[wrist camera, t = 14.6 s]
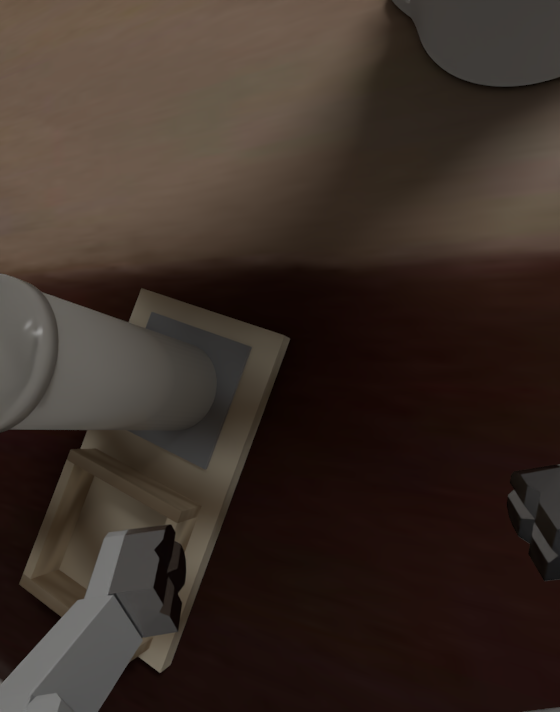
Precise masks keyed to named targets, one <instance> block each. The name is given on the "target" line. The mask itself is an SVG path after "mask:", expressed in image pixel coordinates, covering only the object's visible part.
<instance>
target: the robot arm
mask: <svg viewBox="0 0 560 712" xmlns="http://www.w3.org/2000/svg"><path fill="white" fill-rule="evenodd" d="M392 1H393V2H394V4H395V5H396V6H397V7H398V8H399V9H401V10H402V11H403V12H404V13H405V14H407V15H408V16H409V17H411V18H412V20H413V22H414V24H415V26H416V28H417V31H418V34H419V37H420V40H421V43H422V45H423V47H424V49H425V50H426V52H427V53H428V55H429V56H430V57H431V58H432V60H433V61H434V62H435V63H436V64H438V65H439V66H440V67H441V68H442V69H444V70H445V71H447V72H448V73H450V74H452V75H454V76H456V77H458V78H460V79H463V80H466V81H469V82H472V83H476V84H481V85H487V86H500V87H508V86H523V85H530V84H535V83H540V82H544V81H548V80H551V79H555V78H558V77H560V0H392ZM510 484H511V485H512V487H513V488H514V490H513V491H512V492H511V493H510V494H509V495H508V500H507V508H508V513H509V518H510V520H511V523H512V525H513V527H514V529H515V531H516V533H517V535H518V536H519V537H520V538H522V539H523V540H525V541H527V542H528V543H530V548H529V553H528V554H529V556H530V557H531V559H532V561H533V563H534V564H535V566H536V568H537V569H538V571H539V573H540V575H541V576H542V578H543V580H544V581H548V580H557V579H560V464H559V465H550V466H544V467H538V468H532V469H526V470H519V471H514V472H513V474H512V475H511V479H510ZM175 535H176V532H175V530H174V528H173V527H172V525H171V524H169V525H161V526H153V527H145V528H136V529H129V530H122V531H114V532H108V534H107V535H106V537H105V538H104V539H103V542H102V546H101V549H100V552H99V555H98V558H97V561H96V564H95V567H94V570H93V573H92V576H91V579H90V582H89V585H88V588H87V591H86V594H85V597H84V599H80V600H77V601H76V602H75V603H74V605H73V606H72V607H71V608H70V609H69V610H68V611H67V612H66V613H65V614H64V616H63V617H62V618H61V619H60V620H59V621H58V622H57V623H56V624H55V625H54V627H53V628H52V629H51V630H50V631H49V632H48V633H47V634H46V635H45V636H44V638H43V639H42V640H41V641H40V642H39V643H38V644H37V645H36V646H35V648H34V649H33V650H32V651H31V652H30V653H29V654H28V655H27V656H26V657H25V659H24V660H23V661H22V662H21V663H20V664H19V665H18V666H17V667H16V668H15V670H14V671H13V672H12V673H11V674H10V675H9V676H8V677H7V678H6V679H5V681H4V682H3V683H2V684H1V685H0V712H98V711H99V709H100V707H101V706H102V704H103V703H104V701H105V700H106V698H107V696H108V695H109V693H110V692H111V690H112V688H113V687H114V685H115V684H116V682H117V681H118V679H119V677H120V676H121V674H122V673H123V671H124V669H125V668H126V666H127V665H128V663H129V661H130V660H131V658H132V657H133V655H134V654H135V652H136V650H137V649H138V647H139V646H140V644H141V642H142V641H143V639H142V638H145V637H151V636H157V635H163V634H169V633H175V632H178V630H179V623H180V616H181V609H182V601H181V599H180V597H179V595H178V593H179V591H180V590H181V589H182V587H183V586H184V585H185V579H186V558H185V553H184V550H183V548H182V545H181V544H180V543H178V542H176V541H175ZM525 712H560V707H557V708H549V709H541V710H533V711H525Z"/></svg>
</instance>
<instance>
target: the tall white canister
mask: <svg viewBox="0 0 560 712" xmlns="http://www.w3.org/2000/svg"><path fill="white" fill-rule="evenodd" d="M216 389H217V378H216V372H215V368H214V366H213V363H212V361H211V360H210V358H209V357H208V355H207V354H206V353H205V352H204V351H203V350H201V349H200V348H199V347H197V346H195V345H192V344H189V343H186V342H183V341H181V340H178V339H175V338H172V337H169V336H166V335H163V334H160V333H158V332H155V331H152V330H149V329H146V328H143V327H140V326H137V325H135V324H132V323H129V322H126V321H123V320H120V319H117V318H114V317H112V316H109V315H106V314H103V313H100V312H97V311H94V310H91V309H89V308H86V307H83V306H80V305H77V304H74V303H71V302H68V301H66V300H63V299H60V298H57V297H54V296H51V295H48V294H45V293H43V292H41V291H40V290H39V289H37V288H36V287H35V286H33V285H32V284H30V283H28V282H25V281H22V280H19V279H17V278H14V277H11V276H8V275H5V274H0V432H4V431H6V430H9V429H26V430H158V431H177V430H184V429H187V428H190V427H192V426H194V425H195V424H197V423H198V422H200V421H201V420H202V419H203V418H204V417H205V415H206V414H207V413H208V411H209V410H210V408H211V406H212V404H213V401H214V399H215V395H216Z"/></svg>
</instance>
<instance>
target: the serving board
mask: <svg viewBox="0 0 560 712" xmlns="http://www.w3.org/2000/svg"><path fill="white" fill-rule="evenodd" d="M129 323H132V324H135V325H137V326H140V327H143V328H146V329H149V330H152V331H155V332H158V333H160V334H163V335H166V336H169V337H172V338H175V339H178V340H181V341H183V342H186V343H189V344H192V345H195V346H197V347H199V348H200V349H201V350H203V351H204V352H205V353H206V354H207V355H208V357H209V358H210V360H211V361H212V363H213V366H214V368H215V372H216V378H217V389H216V395H215V399H214V401H213V404H212V406H211V408H210V410H209V411H208V413H207V414H206V415H205V417H204V418H203V419H202V420H201V421H200V422H198V423H197V424H195V425H194V426H192V427H190V428H187V429H184V430H177V431H158V430H87V433H86V435H85V438H84V441H83V443H82V446H81V449H71V450H70V452H69V455H68V458H67V460H66V463H65V465H64V468H63V471H62V473H61V476H60V479H59V481H58V484H57V486H56V489H55V492H54V494H53V497H52V500H51V502H50V505H49V507H48V510H47V513H46V515H45V518H44V520H43V523H42V526H41V528H40V531H39V534H38V536H37V539H36V541H35V544H34V547H33V549H32V552H31V555H30V557H29V560H28V562H27V565H26V568H25V570H24V573H23V576H22V578H21V581H20V583H19V584H20V585H21V586H22V587H23V588H25V589H26V590H27V591H29V592H30V593H31V594H32V595H34V596H35V597H36V598H38V599H39V600H40V601H41V602H43V603H44V604H45V605H47V606H48V607H49V608H50V609H52V610H53V611H54V612H56V613H57V614H58V615H59V616H61V617H63V616H64V614H65V613H66V612H67V611H68V610H69V609H70V608H71V607H72V606H73V605H74V603H75V602H76V601H77V600H80V599H84V597H85V594H86V591H87V588H88V585H89V582H90V579H91V576H92V573H93V570H94V567H95V564H96V561H97V558H98V555H99V552H100V549H101V546H102V542H103V539H104V538H105V537H106V535H107V534H108V532H114V531H122V530H129V529H136V528H145V527H153V526H161V525H169V524H171V525H172V527H173V528H174V530H175V532H176V535H175V541H176V542H178V543H180V544H181V545H182V548H183V550H184V553H185V558H186V579H185V585H184V586H183V587H182V589H181V590H180V591H179V593H178V595H179V597H180V599H181V601H182V609H181V616H180V623H179V630H178V632H175V633H169V634H163V635H157V636H151V637H145V638H142V639H143V641H142V642H141V644H140V646H139V647H138V649H137V650H136V652H135V654H134V655H133V657H132V658H131V660H130V661H129V662H131V661H132V660H133V659H135V658H136V657H139V658H141V659H142V660H143V661H145V662H146V663H147V664H149V665H150V666H151V667H153V668H154V669H155V670H157V671H158V672H159V673H161V672H162V671H164V670H165V669H166V668H167V667H168V666H170V665H171V662H172V660H173V657H174V654H175V651H176V649H177V646H178V643H179V641H180V638H181V635H182V632H183V630H184V627H185V624H186V622H187V619H188V616H189V613H190V611H191V608H192V605H193V602H194V600H195V597H196V594H197V592H198V589H199V586H200V583H201V581H202V578H203V575H204V573H205V570H206V567H207V564H208V562H209V559H210V556H211V553H212V551H213V548H214V545H215V543H216V540H217V537H218V534H219V532H220V529H221V526H222V524H223V521H224V518H225V515H226V513H227V510H228V507H229V504H230V502H231V499H232V496H233V494H234V491H235V488H236V485H237V483H238V480H239V477H240V475H241V472H242V469H243V466H244V464H245V461H246V458H247V455H248V453H249V450H250V447H251V445H252V442H253V439H254V436H255V434H256V431H257V428H258V426H259V423H260V420H261V417H262V415H263V412H264V409H265V406H266V404H267V401H268V398H269V396H270V393H271V390H272V387H273V385H274V382H275V379H276V377H277V374H278V371H279V368H280V366H281V363H282V360H283V357H284V355H285V352H286V349H287V347H288V344H289V341H290V338H288V337H286V336H285V335H282V334H279V333H276V332H273V331H270V330H267V329H264V328H261V327H257V326H254V325H251V324H248V323H245V322H242V321H239V320H236V319H233V318H230V317H227V316H224V315H221V314H218V313H215V312H212V311H209V310H206V309H203V308H200V307H197V306H194V305H191V304H188V303H185V302H182V301H179V300H176V299H173V298H170V297H167V296H164V295H161V294H158V293H154V292H151V291H148V290H145V289H142V288H141V291H140V294H139V296H138V299H137V302H136V304H135V307H134V309H133V312H132V315H131V317H130V320H129Z"/></svg>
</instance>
